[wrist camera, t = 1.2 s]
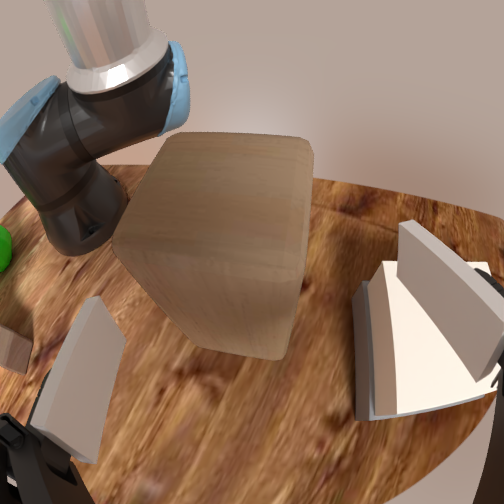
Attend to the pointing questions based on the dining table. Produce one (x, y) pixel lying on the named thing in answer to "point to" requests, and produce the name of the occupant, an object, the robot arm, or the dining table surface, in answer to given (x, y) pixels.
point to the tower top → (414, 351)
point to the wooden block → (223, 237)
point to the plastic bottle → (5, 248)
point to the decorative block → (14, 350)
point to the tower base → (370, 361)
